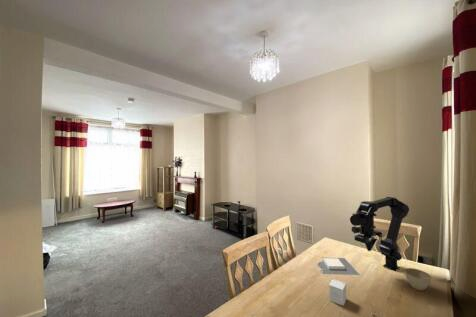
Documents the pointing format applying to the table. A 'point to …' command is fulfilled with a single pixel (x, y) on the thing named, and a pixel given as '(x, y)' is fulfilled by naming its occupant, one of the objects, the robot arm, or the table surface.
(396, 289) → the table surface
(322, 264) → the mat
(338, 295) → the product box
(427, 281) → the cream bowl
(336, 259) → the tile
